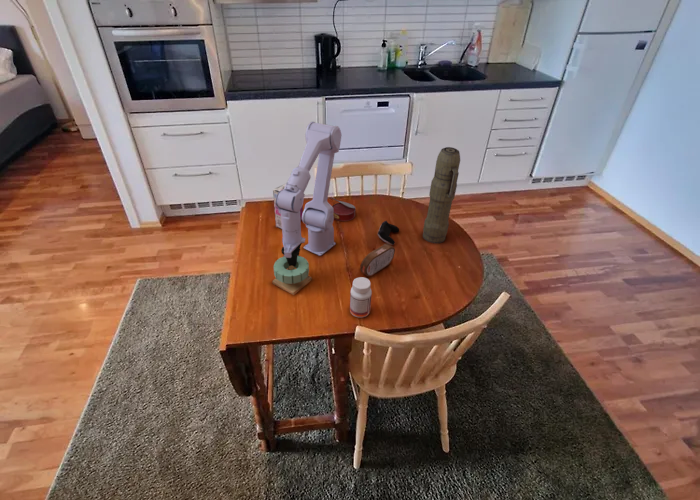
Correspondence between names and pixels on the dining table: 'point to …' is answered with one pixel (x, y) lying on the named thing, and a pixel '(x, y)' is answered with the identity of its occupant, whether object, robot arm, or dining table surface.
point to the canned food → (343, 211)
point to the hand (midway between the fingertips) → (293, 262)
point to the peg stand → (292, 287)
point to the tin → (377, 260)
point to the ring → (291, 275)
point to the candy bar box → (277, 214)
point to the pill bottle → (360, 297)
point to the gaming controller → (387, 232)
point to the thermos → (441, 195)
